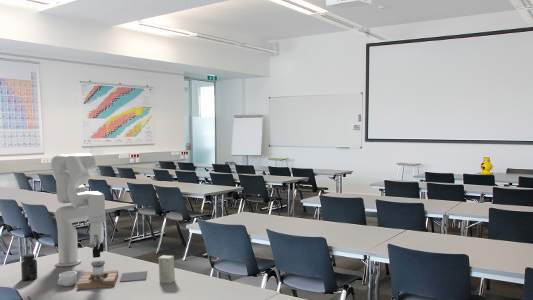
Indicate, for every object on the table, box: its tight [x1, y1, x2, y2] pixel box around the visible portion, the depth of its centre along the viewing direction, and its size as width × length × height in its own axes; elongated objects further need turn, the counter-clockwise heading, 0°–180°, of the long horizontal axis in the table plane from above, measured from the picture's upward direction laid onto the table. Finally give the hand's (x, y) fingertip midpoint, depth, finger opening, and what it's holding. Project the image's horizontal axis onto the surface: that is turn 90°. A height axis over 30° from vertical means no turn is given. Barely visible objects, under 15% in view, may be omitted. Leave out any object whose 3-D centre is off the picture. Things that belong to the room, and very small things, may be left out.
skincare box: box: [158, 254, 176, 284], centre depth 203 cm, size 6×4×12 cm
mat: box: [119, 270, 148, 283], centre depth 211 cm, size 12×12×1 cm
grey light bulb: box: [90, 259, 106, 280], centre depth 204 cm, size 6×6×10 cm
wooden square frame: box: [76, 269, 119, 290], centre depth 204 cm, size 16×16×3 cm
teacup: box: [57, 270, 78, 287], centre depth 200 cm, size 10×8×5 cm
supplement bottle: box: [20, 253, 38, 282], centre depth 209 cm, size 7×7×12 cm
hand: (98, 254), depth 203 cm, fingers open, 9 cm apart
